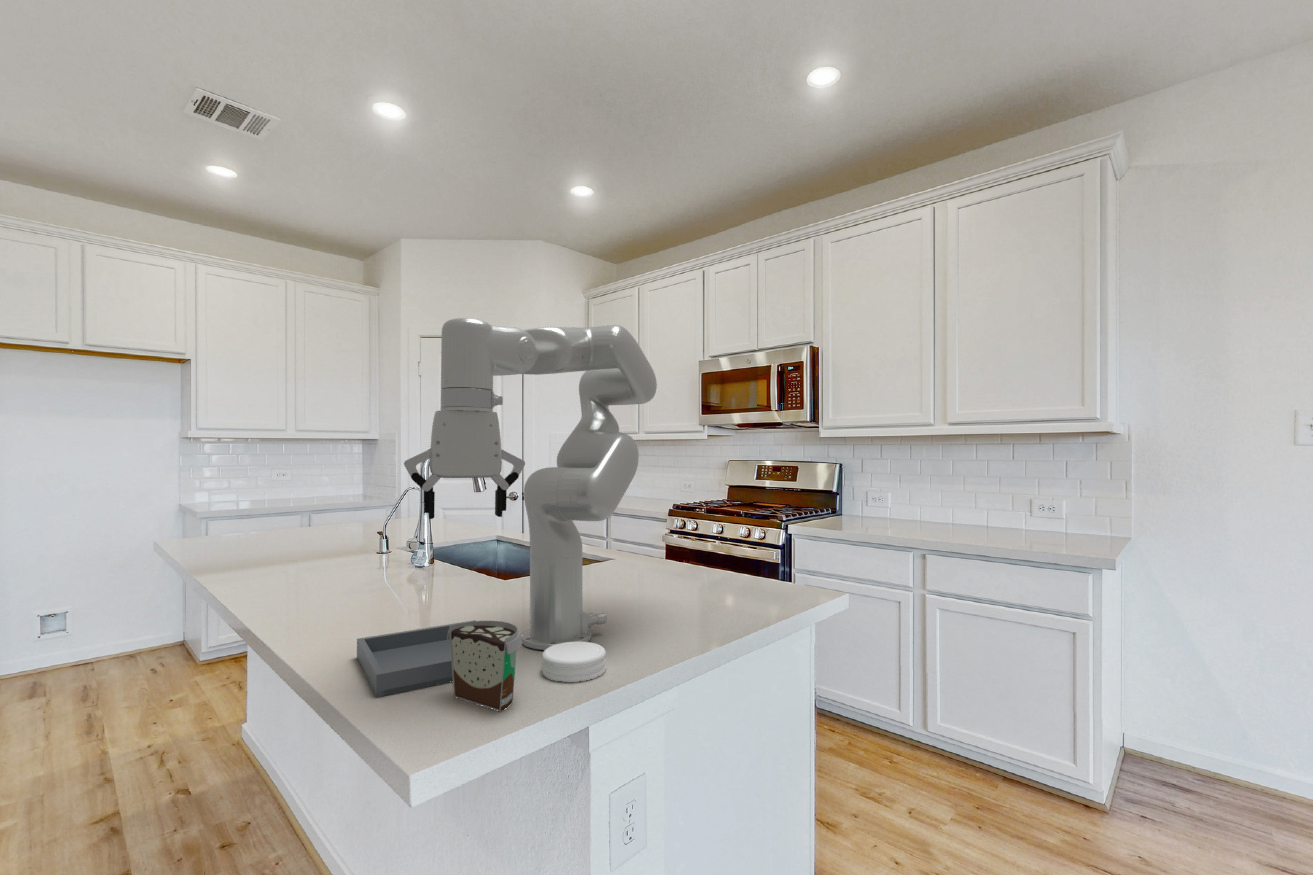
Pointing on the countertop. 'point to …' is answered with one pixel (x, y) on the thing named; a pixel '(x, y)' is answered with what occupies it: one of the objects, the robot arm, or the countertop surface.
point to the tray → (406, 659)
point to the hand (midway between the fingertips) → (465, 517)
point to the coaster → (574, 661)
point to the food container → (484, 662)
